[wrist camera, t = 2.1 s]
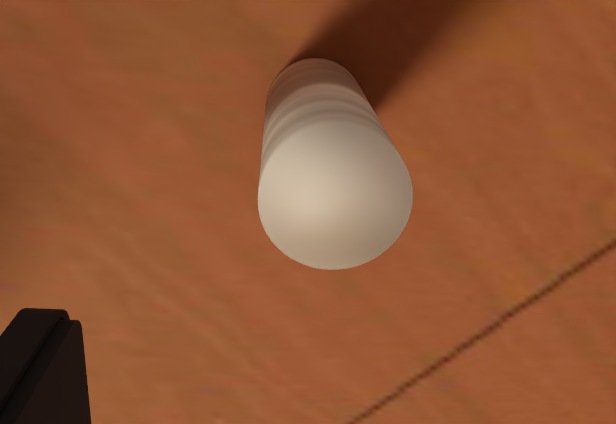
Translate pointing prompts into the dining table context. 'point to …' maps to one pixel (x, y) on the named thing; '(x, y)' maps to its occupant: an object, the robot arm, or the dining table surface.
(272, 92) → the peg
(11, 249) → the dining table surface
